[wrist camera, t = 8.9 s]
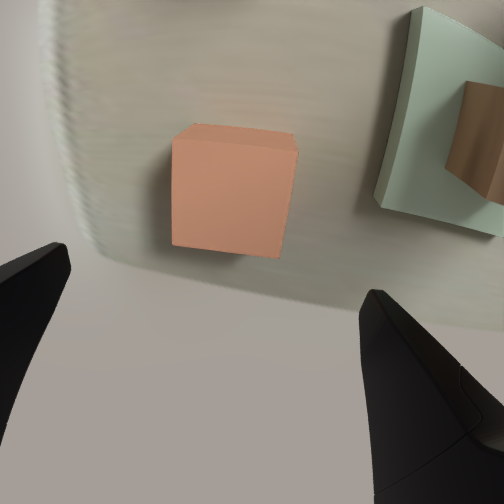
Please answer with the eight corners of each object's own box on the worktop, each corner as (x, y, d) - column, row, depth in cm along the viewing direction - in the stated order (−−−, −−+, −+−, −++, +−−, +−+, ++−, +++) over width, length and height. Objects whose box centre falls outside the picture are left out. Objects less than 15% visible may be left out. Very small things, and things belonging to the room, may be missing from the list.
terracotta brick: (292, 133, 15) (298, 152, 12) (278, 219, 18) (279, 259, 14) (195, 122, 15) (172, 138, 12) (191, 209, 18) (172, 245, 14)
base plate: (543, 87, 11) (557, 91, 9) (502, 229, 16) (513, 240, 15) (411, 10, 10) (423, 5, 9) (372, 196, 16) (380, 207, 15)
